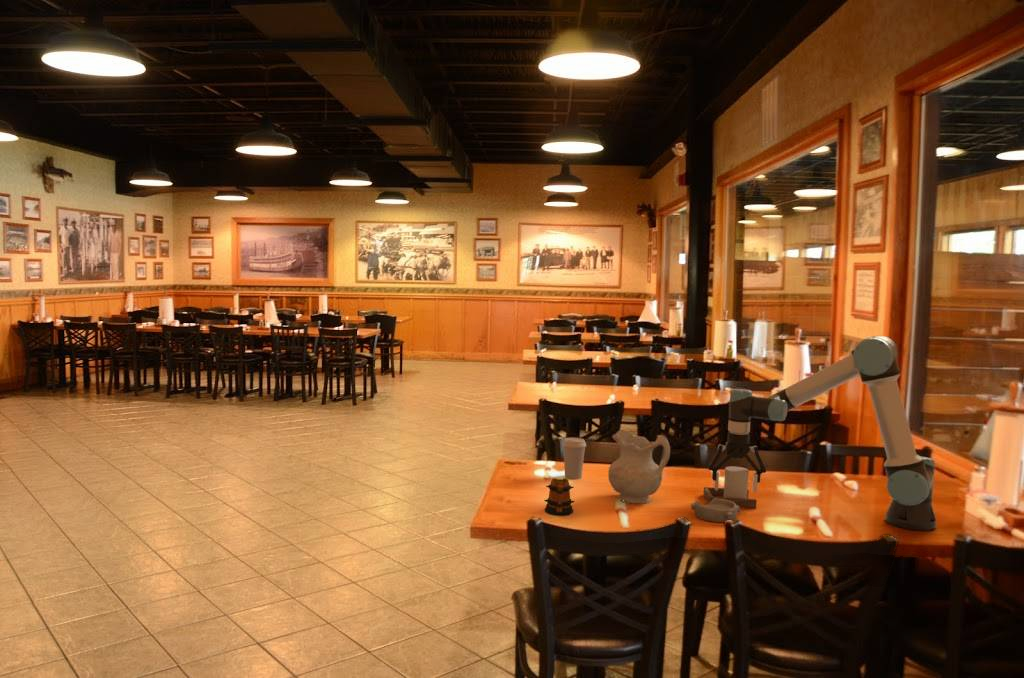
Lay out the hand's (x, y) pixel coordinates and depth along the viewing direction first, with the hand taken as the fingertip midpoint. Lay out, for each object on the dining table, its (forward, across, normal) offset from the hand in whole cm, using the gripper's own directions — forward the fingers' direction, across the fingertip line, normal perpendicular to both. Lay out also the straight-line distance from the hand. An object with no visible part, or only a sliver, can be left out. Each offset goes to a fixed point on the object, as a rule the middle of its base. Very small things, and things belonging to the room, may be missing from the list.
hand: (735, 490), depth 280 cm
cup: (+4, 0, 0) cm, 4 cm away
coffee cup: (+4, +58, -23) cm, 63 cm away
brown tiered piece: (+4, +63, +23) cm, 67 cm away
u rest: (+4, +2, 0) cm, 5 cm away
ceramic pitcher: (+4, +35, +3) cm, 35 cm away
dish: (+5, +10, +19) cm, 22 cm away
